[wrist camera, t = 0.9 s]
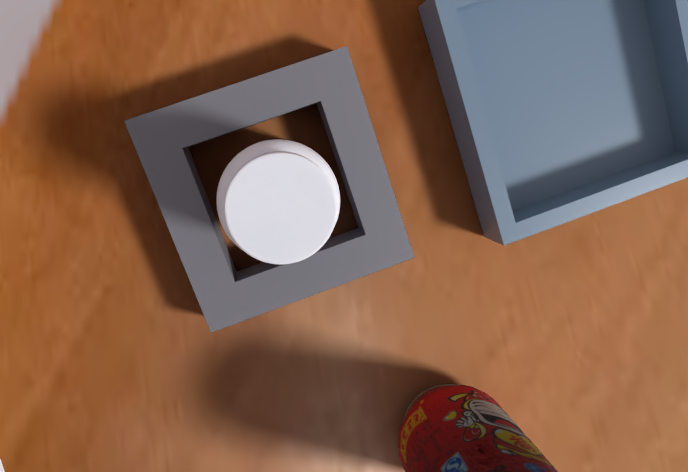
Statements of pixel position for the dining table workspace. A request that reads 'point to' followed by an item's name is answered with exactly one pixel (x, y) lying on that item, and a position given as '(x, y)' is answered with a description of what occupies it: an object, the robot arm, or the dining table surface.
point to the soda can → (464, 435)
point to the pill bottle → (278, 201)
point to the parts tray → (561, 103)
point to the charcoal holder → (197, 214)
